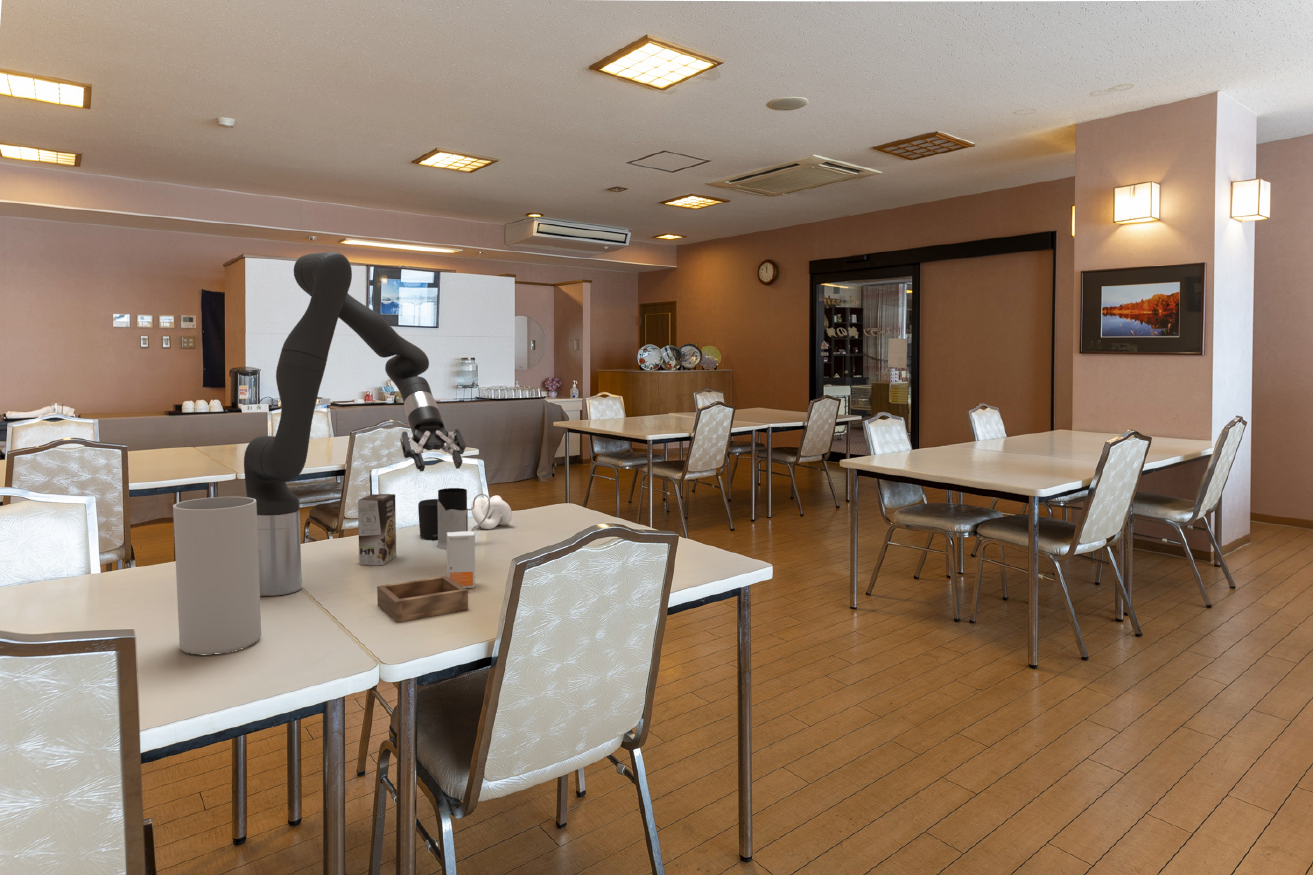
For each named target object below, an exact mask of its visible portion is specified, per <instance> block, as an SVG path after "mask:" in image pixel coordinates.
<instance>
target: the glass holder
mask: <svg viewBox="0 0 1313 875" xmlns="http://www.w3.org/2000/svg"><path fill="white" fill-rule="evenodd" d="M480 496H484V497H486V498H487V501H489V505H488V511H487V513H486V516H485V517H484V519H483V520H482V521H481V522H480V523H479V524H477V525H476V526H475V527H474V528H473V529H470V530H471V531H474V532H475V530H476V529H478V527H481V526H480V525H481V524H482V523H483V522H484V521H485V519H486V517H487V515H488V513H489V509H490V497H489V496H488V495H487V494H484V493H479V494H477V495H476V496H474V498H473V500H472V503H473V508H468V490H467V489H466V488H460V487H448V488H443V489H442V488H441V489H438V490H437V498H436V499H437V500H438V540H437V543H436V547H437V548H438V549H441V548H443V549H442V550H447V532H461V531H469V519H468V518H469V517H468V516H469V511H471V510H473V509H474V506H475V500H476V498H478V497H480Z"/></svg>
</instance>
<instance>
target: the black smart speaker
mask: <svg viewBox="0 0 1313 875" xmlns="http://www.w3.org/2000/svg"><path fill="white" fill-rule="evenodd" d="M437 499H438V498H432V499H429V498H428V499H423V500H420V501H419V502H418V504H417V505H418V508H417V510H418V525H419V526H418V527H419V537H420V538H421V539H422V540H425V541H426V540H428V541H438V500H437Z"/></svg>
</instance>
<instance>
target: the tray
mask: <svg viewBox="0 0 1313 875" xmlns="http://www.w3.org/2000/svg"><path fill="white" fill-rule="evenodd" d="M376 589H377V590H376V591H377V593H376V595H377V598H376V599H377V602H376V603H377V606H378V607H379V608H380V609H381V610H382V611H383V612H384V613H385V614H386V615H388V617H390V618H391V619H392V620H393V621H394V622H395V623H400V622H406V621H412V620H416V619H417V618H418V619H423V618H428V617H434V616H440V615H444V614H450V612H451V613H455V612H456V611H457V612H461V611H466V610H469V590H468V588H464V587H463V586H461V585H459V584H458V583H456V582H455V581H453V580H452V579H450V578H449V577H447V575H443V576H436V577H429V578H422V579H416V580H408V581H402V582H396V583H390V584H383V585H382V584H381V585H377V586H376ZM457 612H456V613H457ZM418 619H417V620H418Z"/></svg>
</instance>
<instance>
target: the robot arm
mask: <svg viewBox="0 0 1313 875" xmlns="http://www.w3.org/2000/svg"><path fill="white" fill-rule="evenodd" d="M293 266H294V267H293V276H294V277H293V278H294V279H295V281H296V284H297V285H298V286H299V287H300V288H301V289H302V290H303V292H305V293H306V294H308V295H309V297H310V301H309V303H308V306H307V309H305V312H304V314H303V315H302V317H301V318H300V320H299V321H298V322H297V323H296V325H295V326H294V327H293V328H292V330H291V331H290V333H289V334H288V335H287V338H286V339H285V341H284V342H283V345H282V348H281V351H280V354H279V358H278V362H277V366H276V372H275V378H276V379H275V380H276V385H277V391H278V396H279V399H280V407H281V410H280V417H279V418H280V419H279V422H278V426H277V430H276V432H275V435H274V436H273V435H261V436H257V437H256V438H253V439H252V440H251V441H250V442H249V443H248V444H247V446H246V449H245V451H244V456H243V470H244V471H243V472H244V483H245V492H246V494H245V495H246V497H248V498H253V499H256V506H257V533H258V560H259V587H260V597H265V596H266V597H267V596H268V597H269V596H270V597H271V596H272V597H273V596H275V597H276V596H282V595H283V596H284V595H288V594H292V593H296V592H299V591H300V590H301V589H302V588H303V584H302V583H303V581H302V580H303V575H302V552H301V550H302V549H301V548H302V547H301V546H302V545H301V521H300V520H301V518H300V515H301V513H300V500H299V497H298V495H296V494H294V493H293V492H292V491H291V490H290V488H289V487H288V485H287V482H290V481H293V480H295V479H297V477H298V476H300V474H301V473H302V472H303V470H304V468H305V465H306V462H307V458H308V453H309V452H308V450H309V444H310V437H311V432H312V424H313V418H314V414H315V409H316V404H317V402H318V401H317V400H318V396H319V392H320V388H321V385H322V382H323V377H324V375H325V371H326V370H325V369H326V366H327V361H328V357H329V352H330V348H331V344H332V341H333V338H334V335H335V330H336V327H337V323H338V319H340V320H341V321H342V322H343V323H345V325H347V327H349V328H350V329H352V331H354V332H355V333H356V334H357V335H358V336H359V338H361V339H362V340H363V342H364V343H365V344H366V345H367V346H368V347H369V348H370V349H371V350H372V351H373V352H374V353H375V354H376V355H377V356H378V357H380V358H389V357H391V358H389V359H388V360H387V361H386V363H385V365H384V366H385V368H384V370H385V373H386V375H387V376H388V378H389V379H390V380H391V381H392V382H393V384H394V385H395V386H396V388H397V390H398V391H399V393H400V395H401V399H402V402H403V406H404V412H405V415H406V419H407V421H408V424H409V428H410V430H411V433H408V432H407V431H402V432H401V436H400V439H399V440H400V445H401V450H402V454H403V457H404V458H405V459H408V458H411V459H413V461H414V464H415V467H416V470H419V472H424V471H425V468H426V466H425V465H426V464H425V462H424V458H423V454H422V452H423V451H424V450H426V451H432V450H435V451H440V450H442V452H445V453H448V454H449V455H451V456H452V457H451V458H452V461H453V463H454V467H455V469H456V470H457V469H460V468H461V467H462V465H463V458H462V456H461V455H464V453H465V450H466V448H467V445H466V442H465V441H464V439H463V438H464V437H463V436H462V434H461V431H460V430H459V428H455V429H454V430H453V431H448V430H447V429H446V428H445V424H444V421H443V418H442V416H441V412H440V409H439V407H438V404H437V401H436V400H435V398H434V396H433V394H432V389H431V386H430V385H429V382H428V381H427V379H426V378H425V377H422V376H419V375H422V374H423V373H425V372H426V371H427V370H428V369H429V367H430V360H429V357H428V356H427V354H426V353H425V351H423V349H421V348H420V347H418V346H417V345H415V344H414V343H412V342H410V341H409V340H407V339H405V338H403V337H402V336H400V335H399V333H398V332H396V330H395V329H394V328H393V327H392V326H391V325H390V323H388V322H387V321H386V319H384V318H383V317H382V316H381V315H379V313H378V312H376V311H374V310H373V309H372V308H370V307H368V306H367V305H365V304H363V303H361V301H358V300H357V299H356V298H355V297H353V296H352V295H351V294H350V293H349V291H350V287H351V284H352V278H353V271H352V266H351V263H350V261H349V259H348V258H347V257H346V256H345V255H344V254H343V253H340V252H336V251H325V252H314V253H308V254H307V253H306V254H304V255H302V256H300V257H299V258H298V259H297V260H296V261H295V263H294V265H293ZM411 441H413V442H414V443H416V444H417V445H416V447H415V449H412V447H411ZM445 444H446V445H445Z"/></svg>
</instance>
